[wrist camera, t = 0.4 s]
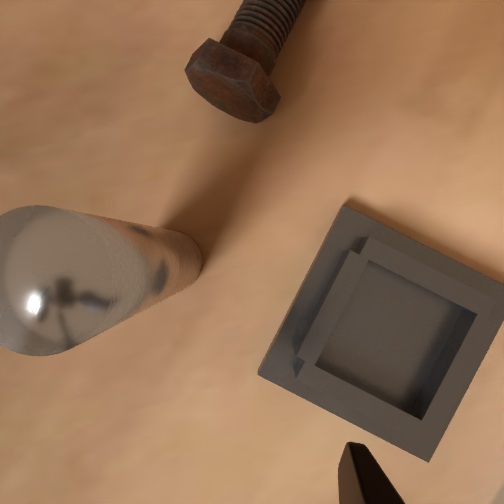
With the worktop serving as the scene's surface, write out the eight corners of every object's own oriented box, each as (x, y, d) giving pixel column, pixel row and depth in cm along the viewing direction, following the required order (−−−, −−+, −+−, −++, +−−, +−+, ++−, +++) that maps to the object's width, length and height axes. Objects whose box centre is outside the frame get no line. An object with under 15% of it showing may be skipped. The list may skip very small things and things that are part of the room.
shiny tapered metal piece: (167, 304, 23) (26, 386, 9) (129, 256, 24) (-66, 268, 10) (214, 266, 23) (142, 294, 9) (176, 218, 23) (49, 174, 9)
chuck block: (423, 455, 23) (440, 478, 21) (257, 370, 23) (257, 383, 21) (509, 290, 23) (537, 295, 20) (341, 206, 23) (350, 201, 21)
